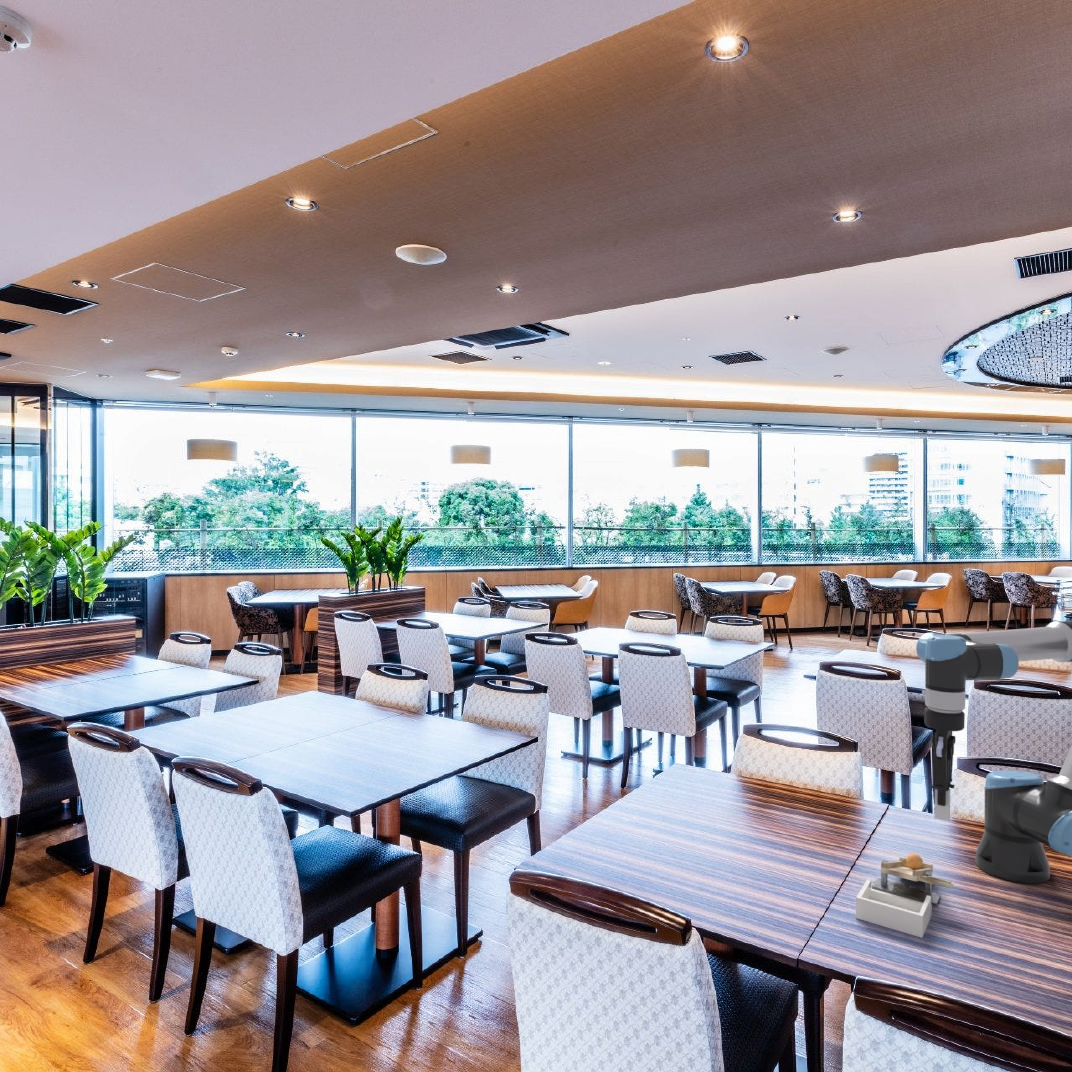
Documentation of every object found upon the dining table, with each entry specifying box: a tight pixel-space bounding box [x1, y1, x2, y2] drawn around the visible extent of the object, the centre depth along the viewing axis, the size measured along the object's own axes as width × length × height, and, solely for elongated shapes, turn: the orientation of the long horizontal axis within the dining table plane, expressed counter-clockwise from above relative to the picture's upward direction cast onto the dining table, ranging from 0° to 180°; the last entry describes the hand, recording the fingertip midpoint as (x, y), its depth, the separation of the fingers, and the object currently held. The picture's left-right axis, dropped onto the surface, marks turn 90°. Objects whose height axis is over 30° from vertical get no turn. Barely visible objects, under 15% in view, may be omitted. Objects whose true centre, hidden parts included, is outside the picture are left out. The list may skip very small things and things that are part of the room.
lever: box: [880, 856, 954, 890], centre depth 170 cm, size 13×21×3 cm, turn 144°
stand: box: [871, 859, 941, 907], centre depth 171 cm, size 13×5×6 cm, turn 54°
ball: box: [905, 853, 924, 870], centre depth 179 cm, size 4×4×4 cm
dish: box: [855, 878, 933, 939], centre depth 161 cm, size 13×11×4 cm
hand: (942, 818), depth 163 cm, fingers closed
